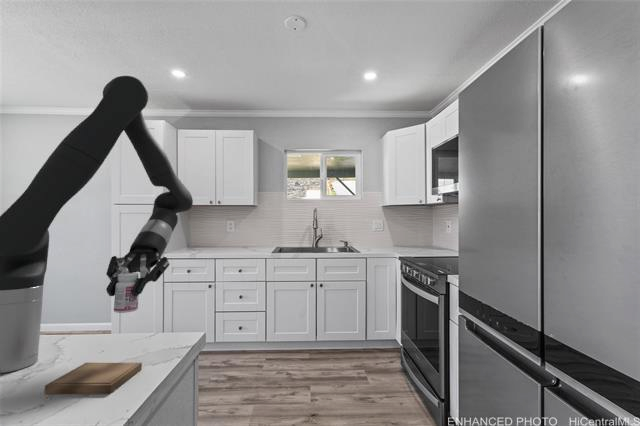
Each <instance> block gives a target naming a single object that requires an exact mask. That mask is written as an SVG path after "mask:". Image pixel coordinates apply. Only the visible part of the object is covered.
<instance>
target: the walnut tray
mask: <svg viewBox="0 0 640 426" xmlns="http://www.w3.org/2000/svg"><path fill="white" fill-rule="evenodd" d="M142 365H143V363H142V362H84V363H82V364H81V365H79V366H77V367H75V368H74V369H72V370H70V371H69V372H66V373H64V374H63V375H61V376H59V377H57V378H55V379H54V380H53V381H50V382H49V383H47V384H45V385H44V392H43V393H44V395H48V394H49V395H59V394H60V395H63V394H65V395H84V394H85V395H87V394H88V395H90V394H91V395H95V394H96V395H97V394H98V395H102V394H103V395H104V394H106V395H107V394H109V395H110V394H113V393H114V392H116V390H118V389H119V388H120V387H122V385H124V384H125V383H127V382H128V381H129V380H130V379H132V378H133V377H134V376H135V375H136V374H138V373H139V372H140V371H142V368H143V366H142Z"/></svg>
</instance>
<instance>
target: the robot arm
mask: <svg viewBox="0 0 640 426" xmlns="http://www.w3.org/2000/svg"><path fill="white" fill-rule="evenodd" d="M148 102H149V92H148V89H147V86H146V85H145V84H144V83H143V81H141V80H140V79H139V78H137V77H136V76H135V77H134V76H131V75H120V76H119V75H118V76H116V77H115V78H113V79H111V80H110V81H108V83H107V84H105V86H104V87H103V90H102V98H101V99H100V102H99V103H97V106H96V107H95V108H94V110H93V111H92V112H91V113H90V114H89V115H88V116H87V117H86V118H85V119H83V120H82V121H81V122H79V124H78V125H76V127H74V128H73V129H72V130H71V131H70V132H69V133H68V134H67V135H66V136H65V137H64V138H63V139H62V140H61V142H60V143H59V144H58V145H57V146H56V147H55V149H54V150H53V151H52V152H51V154H50V155H49V156H48V158H47V159H46V161H45V162H44V163H43V165H42V166H41V168H40V169H39V170H38V171H37V173H36V175H35V176H34V178H33V179H32V180H31V182H30V184H29V185H28V186H27V188H26V189H25V190H24V192H23V193H22V194H21V195H20V196H19V197H18V198H17V199H16V200H15V201H14V202H13V203H12V204H11V205H10V206H9V207H8V208H6V209H5V210H4V212H3V213H2V214H0V374H4V373H10V372H14V371H18V370H21V369H25V368H27V367H30V366H32V365H33V364H35V363H37V362H38V360H39V349H40V348H39V347H40V339H41V337H40V336H41V323H42V311H43V295H44V285H45V276H46V272H47V267H48V256H49V247H50V231H49V228H50V226H51V225H52V223H53V221H54V220H55V219H56V216H58V214H59V212H60V210H62V208H63V207H64V206H65V205H66V204H67V203H68V202H69V201H70V200H71V199H72V198H73V197H74V196H76V195H77V194H78V193H79V192H80V191H81V190H82V189H83V188H84V187H85V186H86V185H87V184H88V183H89V182H90V181H91V180H92V178H93V177H94V176H95V174H97V171H98V170H99V169H100V168H101V166H102V165H103V164H104V162H105V160H106V159H107V158H108V156H109V154H110V153H111V151H112V150H113V148H114V147H115V145H116V143H117V142H118V140H119V138H120V136H121V135H122V134H123V132H124V133H125V135H126V136H127V138H128V139H129V141H130V143H131V145H132V147H133V148H134V150H135V152H136V154H137V157H138V159H139V160H140V163H141V164H142V167H143V169H144V171H145V172H146V174H147V178H148V179H149V181H150V183H151V184H152V185H153V186H154V187H158V188H160V187H161V188H162V187H164V188H166V189H167V190H168V191H165V192H162V193H160V194H159V195H157V197H155V199H154V203H153V207H152V213H151V215H150V217H149V219H148V220H147V222H146V223H145V224H144V225H143V227H142V228H141V229H140V231H139V233H138V234H137V236H136V237H135V239H134V240H133V242H132V243H131V245H130V248H129V252H128V253H127V254H125V255H124V256H122V257H118V256H117V255H113V256H111V258H110V261H109V264H108V268H107V270H106V273H105V274H106V276H107V277H108V279H109V280H110V281H109V284H108V285H107V287H106V289H105V290H106V293H107V294H108V296H110V297H115V287H116V284H117V283H118V282H119V281H118V275H119V274H123V273H139V277H138V279H137V281H136V283H135V285H134V286H133V288H132V290H131V293H132V295H133V296H138V295H141V294H142V293H143V291H144V289H145V287H146V285H147V284H148V283H150V282H153V283H154V282H157V281H158V279H160V277H161V276H162V275H163V274H164V273H165V271H166V270H167V269H168V268H169V266H170V262H169V260H168V257H166V256H163V254H164V252H165V251H166V248H167V246H168V245H169V243H170V240H171V238H172V234H173V233H174V230H175V229H176V227H177V224H178V221H179V217H178V215H177V214H178V213H184V212H188V211H189V210H191V209H192V206H193V204H194V203H193V202H194V200H193V196H192V194H191V192H190V191H189V190H188V188H187V186H186V185H184V183H183V182H182V181H181V180H180V178H179V176H177V174H176V173H175V171H174V169H173V167H172V164H171V161H170V160H169V157H168V156H167V153H166V152H165V150H164V149H163V148H162V146H161V145H160V144H159V142H158V140H157V139H156V138H155V137H154V135H153V133H152V132H151V130H150V129H149V127H148V125H147V122H146V121H145V117H144V114H143V110H144V109H146V106H148ZM162 256H163V257H162ZM151 268H152V269H151Z"/></svg>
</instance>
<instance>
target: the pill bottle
mask: <svg viewBox="0 0 640 426" xmlns="http://www.w3.org/2000/svg"><path fill="white" fill-rule="evenodd" d="M138 278H139V272H134V273H123V274H119V275H118V281H119V282H118V283H117V284H116V287H115V295H114V302H113V303H114V304H113V312H114V313H118V314H124V313H126V314H128V313H131V312H136V311H137V310H138V309H139V295H140V294H139V295H138V296H133V295H132V293H131V290H132V288H133V286H134V285H135V283H136V281H137V279H138Z"/></svg>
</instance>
